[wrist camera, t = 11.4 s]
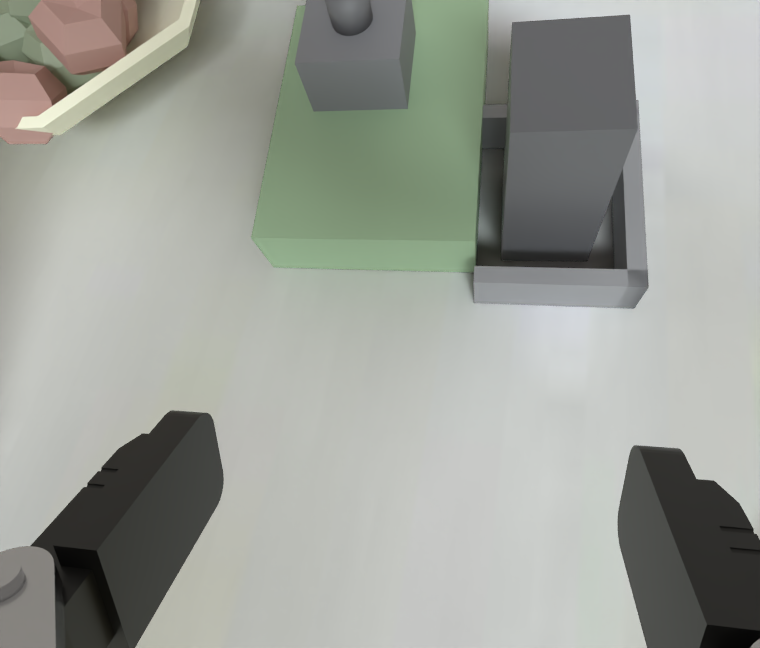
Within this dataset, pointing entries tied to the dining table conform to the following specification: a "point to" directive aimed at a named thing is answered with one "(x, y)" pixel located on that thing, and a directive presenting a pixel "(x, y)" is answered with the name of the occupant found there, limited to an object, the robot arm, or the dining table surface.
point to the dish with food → (79, 57)
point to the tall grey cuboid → (565, 133)
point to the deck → (410, 156)
